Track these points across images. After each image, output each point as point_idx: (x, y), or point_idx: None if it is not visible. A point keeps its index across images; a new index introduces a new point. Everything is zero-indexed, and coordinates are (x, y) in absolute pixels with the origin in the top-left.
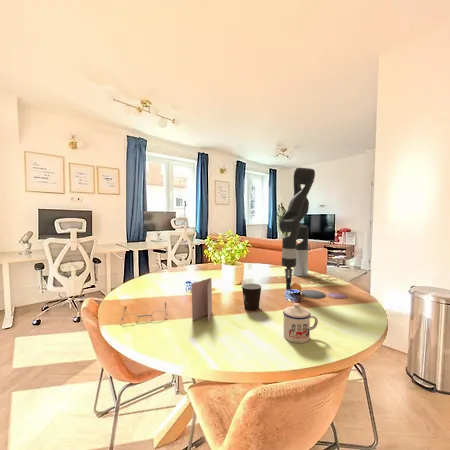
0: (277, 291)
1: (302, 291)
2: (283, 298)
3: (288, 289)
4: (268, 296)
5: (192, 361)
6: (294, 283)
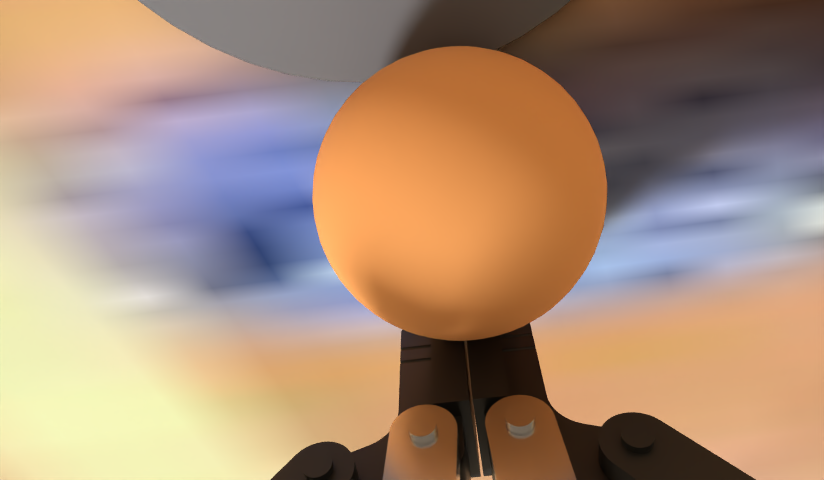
0: None
1: (250, 15)
2: (797, 295)
3: None
4: None
5: None
6: (495, 310)
